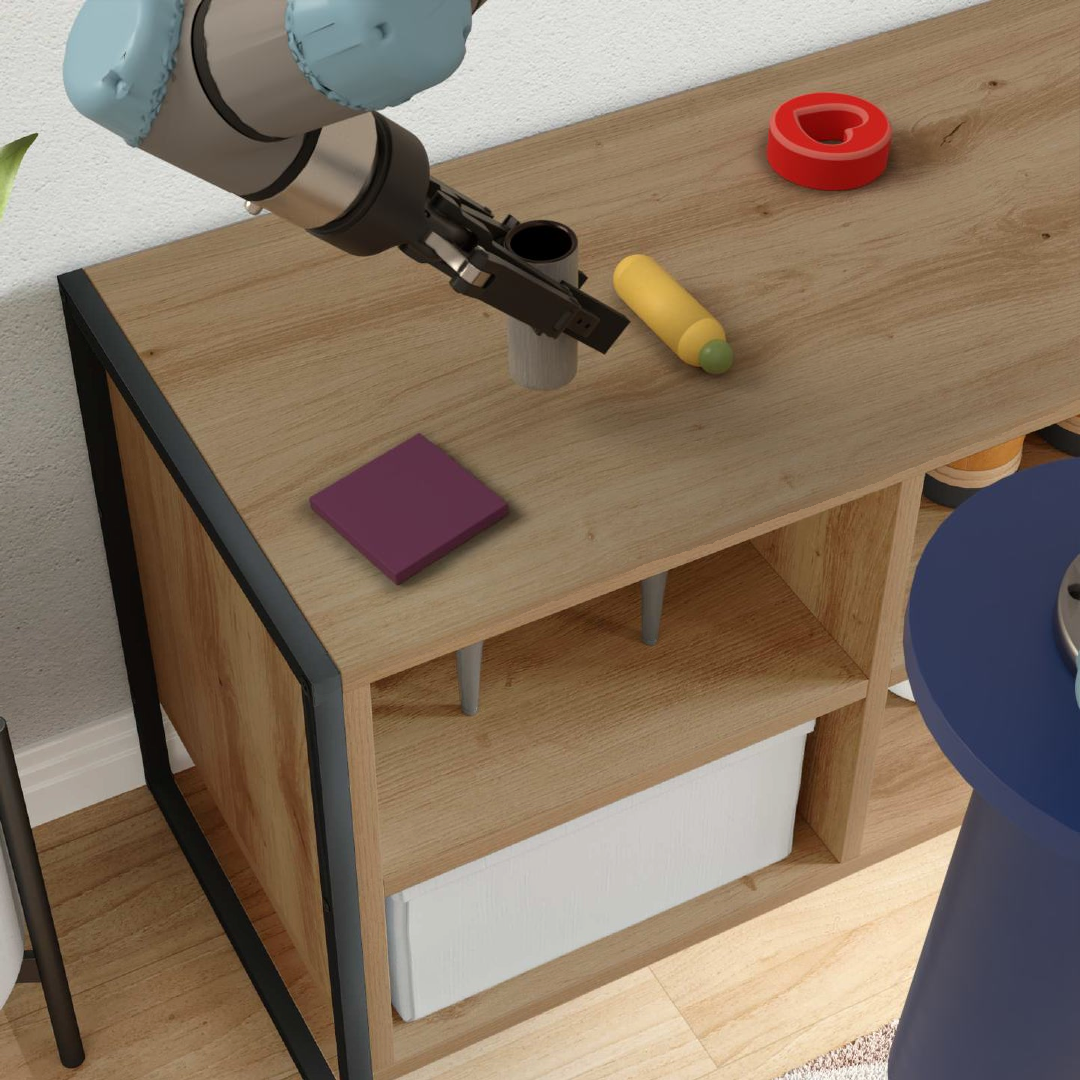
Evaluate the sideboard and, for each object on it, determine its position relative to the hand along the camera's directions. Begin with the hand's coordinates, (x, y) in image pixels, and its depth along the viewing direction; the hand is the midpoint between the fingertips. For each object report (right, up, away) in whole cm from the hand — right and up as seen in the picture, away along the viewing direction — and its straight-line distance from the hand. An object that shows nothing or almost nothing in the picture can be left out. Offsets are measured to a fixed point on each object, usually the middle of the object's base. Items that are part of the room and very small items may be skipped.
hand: (592, 312), depth 102 cm
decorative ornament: (+20, +16, +25) cm, 36 cm away
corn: (+6, 0, +10) cm, 12 cm away
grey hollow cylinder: (-3, -4, +1) cm, 5 cm away
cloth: (-12, -13, -2) cm, 18 cm away
